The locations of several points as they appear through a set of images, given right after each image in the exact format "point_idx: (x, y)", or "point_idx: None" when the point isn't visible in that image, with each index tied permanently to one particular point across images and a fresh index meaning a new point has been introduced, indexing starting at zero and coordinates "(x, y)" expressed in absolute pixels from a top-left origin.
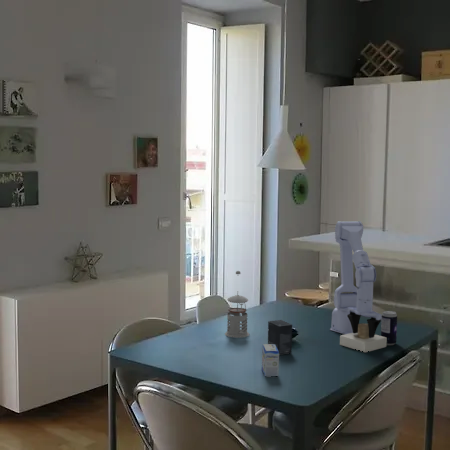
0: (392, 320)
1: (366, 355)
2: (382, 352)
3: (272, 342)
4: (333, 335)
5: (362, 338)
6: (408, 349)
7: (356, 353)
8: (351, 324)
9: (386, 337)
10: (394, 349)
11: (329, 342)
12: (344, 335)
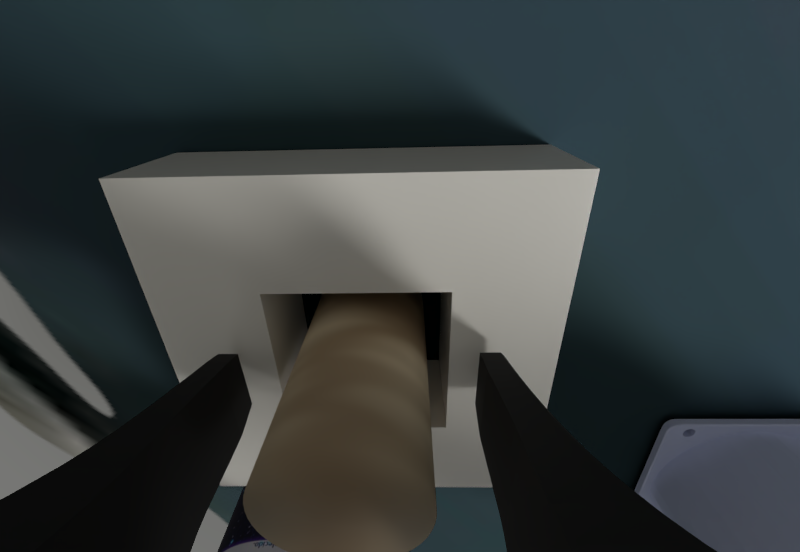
0: None
1: (68, 76)
2: (126, 293)
3: None
4: (775, 337)
5: (322, 318)
6: None
7: (178, 31)
8: (559, 435)
9: None
10: None
11: (701, 113)
12: (550, 226)
